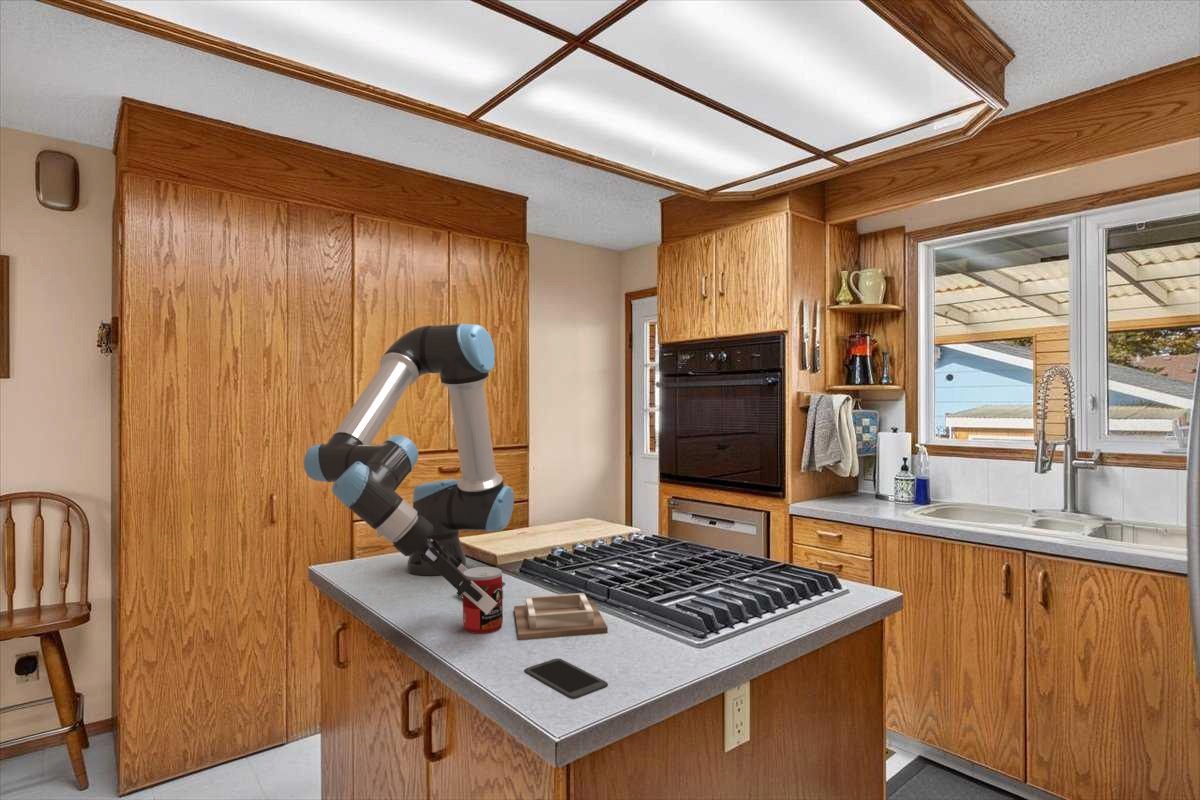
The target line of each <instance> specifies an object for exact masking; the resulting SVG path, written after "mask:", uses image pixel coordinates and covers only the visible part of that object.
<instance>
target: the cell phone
mask: <svg viewBox="0 0 1200 800" xmlns="http://www.w3.org/2000/svg"><path fill="white" fill-rule="evenodd" d="M523 670H524V671H523V672H524V673H525V674H527V675H528V676H529V677H532V678H533V679H535V680H537V681H538V682H540V683H542V684H544V685H545V686H548V687H549V688H551V689H553V690H554V691H557V692H558V693H560V694H562V695H563V696H565V697H567V698H569V699H572V700H577V699H579V698H581V697H584V696H586V695H590V694H593V693H594V692H598V691H600V690H603V689H605V688H607V687H609V684H608V682H607V681H605V680H604V679H601V678H600V677H598V676H596V675H594V674H592V673H589V672H588V671H586V670H584V669H582V668H580V667H579V666H576V665H575V664H572V663H570V662H569V661H565V660H564V659H562V658H559V657H558V658H553V659H550V660H547V661H544V662H540V663H537V664H535V665H531V666H529V667H526V668H525V669H523Z"/></svg>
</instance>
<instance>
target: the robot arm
mask: <svg viewBox="0 0 1200 800" xmlns="http://www.w3.org/2000/svg"><path fill="white" fill-rule="evenodd" d="M495 358H496V350H495V345H494V343H493V340H492V337H491V335H490V334H489V332H488V331H487V330H486V329H485V328H484V327H483V326H482V325H480V324H473V323H472V324H468V323H456V324H455V323H454V324H442V325H441V324H440V325H439V324H438V325H423V326H419V327H416V328H414V329H412V330H410V331H408V332H407V333H405V334H404V335H402V336H401V337H400V338H398V339H397V340H396V341H395V342H394V343H393V344H391V346H389V348H387V350H386V351H385V352H384V354H383V355H382V357H380V360H379V368H378V370H377V371H376V373H375V375H374V376H373V377H372V379H371V380H370V381H369V383H368V384H367V386H366V387H365V389H364V390H363V391H362V392H361V395H360V396H359V398H358V399H357V400H356V401H355V403H354V404H353V405H352V407H351V409H349V411H348V413H347V414H346V416H345V417H344V418H343V420H342V421H341V423H340V424H339V425H338V427H337V428H336V430H335V431H334V433H333V434H332V435H331V437H330V438H329V440H328V441H327V443H320V444H313V446H312V445H311V447H309V448H308V449H307V450H306V452H305V455H304V457H303V469H304V471H305V473H306V475H307V477H308V478H309V479H311V480H313V481H317V482H327V483H333V484H332V485H331V491H332V494H333V495H334V496H335V497H336V498H337V499H338V500H339V501H340V502H341V503H342V504H343V505H344V506H345V507H346V508H347V509H349V510H351V511H352V512H353V513H354V514H355V515H357V517H359V519H361V520H363V522H364V523H366V525H368V526H370V527H371V528H372V529H373V530H375V532H376V534H375V535H376V537H377V538H380V537H382V536H383V538H384V539H385V540H386V541H387V542H388V543H391V542H392V545H393V547H394V548H395V549H396V550H397V551H399V552H400V553H401V554H402V555H403V556H405V557H408V559H407V572H408V573H410V574H413V575H417V576H439V575H441V576H442V577H443V578H444V579H445V580H446V581H447V582H449V584H450V585H451V586H452V587H453V588H454V589H455V590H457V592H456V594H457V596H461V595H462V594H464V595H465V596H466V597H467V598H468V599H469V600H471V601H472V602H473V603H474V604H475V605H476V606H478V607H479V608H480V609H481V610H482V611H483V612H485V613H486V614H488V613H489V612H490V611H491V610H492V609H493V608H494V607H495V605H496V604H497V602H496V601H494V600H493V599H492V598H491V597H490V596H489V595H488V594H486V593H485V592H484V591H483V590H482V589H481V588H480V587H478V586H477V585H476V584H475V583H474V582H473V581H471V580H470V579H468V578H467V577H466V576H465V575H464V574H463V572H464V571H465V570H468V569H469V568H467V558H466V554H465V551H464V548H463V545H462V543H461V539H460V531H473V532H475V531H477V532H487V533H489V532H501V531H503V530H504V529H506V527H507V526H508V525H509V523H510V520H511V518H512V514H513V511H514V504H515V494H514V490H513V488H512V487H511V486H510V485H509V486H508V485H505V484H504V479H503V476H502V474H500V473H498V472H497V470H496V463H495V455H494V450H493V443H492V441H493V440H492V436H491V429H490V428H491V427H490V422H489V421H490V420H489V415H488V414H489V412H488V407H487V398H486V392H485V385H484V384H485V382H486V381H487V380H488V378H489V372H490V371H492V369H494V366H495V363H496V361H495ZM427 374H439V378H440V383H441V384H442V385H443V386H444V387H446V388H447V389H448V394H449V400H450V407H451V413H452V420H453V427H454V433H455V440H456V445H457V451H458V452H457V453H458V457H459V458H458V459H459V465H460V470H461V471H460V472H461V478H460V479H459V480H458V479H457V478H449V479H442V480H441V479H440V480H435V481H429V482H425V483H419V484H417V485H416V486H415V487H414V488H413V495H412V505H411V504H410V503H409V502H407V501H406V499H404V498H402V496H401V495H399V493H397V492H396V490H397V489H398V487H399V486H400V485H401V483H403V481H404V480H405V479H406V477H407V476H408V475H409V473H411V471H412V470H413V468H414V466H415V464H416V463H417V462H418V459H419V454H420V453H419V450H418V447H417V446H416V444H415V442H413V441H412V440H411V439H410V438H408V437H407V436H404V435H401V434H400V435H399V434H397V435H396V434H395V435H391V436H389V438H388V439H386V440H385V441H384V442H383V443H382V444H372V443H373V441H374V440H375V438H376V437H377V436H378V433H379V432H380V430H381V429H382V427H383V426H384V424H385V422H386V421H387V420H388V419H389V416H390V415H391V413H392V411H394V408H395V407H396V406H397V404H398V402H399V401H400V399H401V398H402V396H403V394H404V392H405V391H406V390H407V388H408V386H410V385H413V384H415V383H416V382H417V380H418V379H419V377H420V376H421V377H422V375H427ZM462 581H464V582H463V583H462V584H461V585H460V583H461V582H462ZM459 585H460V586H459Z"/></svg>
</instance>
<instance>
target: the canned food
mask: <svg viewBox="0 0 1200 800" xmlns="http://www.w3.org/2000/svg"><path fill="white" fill-rule="evenodd" d="M467 569H468V570H465V571H464V572H463V574H464V575H465V576H466V577H467V578H468V579H470V580H471V581H473V582H474V583H475V584H476V585H477V586H478V587H480V588H481V589H482V590H483V591H484V592H485V593H486V594H488V595H489V596H490V597H491V598H492V599H493V600H494V601H496V602H497V604H496V605H495V607H494V608H493V609H492V610H491V611H490V612H489V613H488V614H486V613H485V612H483V611H482V610H481V609H480V608H479V607H478V606H476V605H475V604H474V603H473V602H472V601H471V600H469V599H468V598H467V597H466V596H465V595H464V594H463V598H462V622H463V623H462V624H463V627H464V630H465V629H466V632H468V631H470V632H469V633H471V632H474V633H473V634H488V632H490V633H494V632H497V631H498V630H500V629H501V628H502V626H503V623H504V622H503V619H504V618H503V617H504V616H503V615H504V613H503V611H504V609H503V607H504V606H503V604H504V603H503V598H502V589H503V588H502V582H503V574H502V573H503V571H502V570H501V569H500V568H498V567H494V566H493V567H492V566H478V567H476V566H475V567H471V568H467ZM463 582H464V581H462V583H463ZM493 631H494V632H493Z"/></svg>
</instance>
